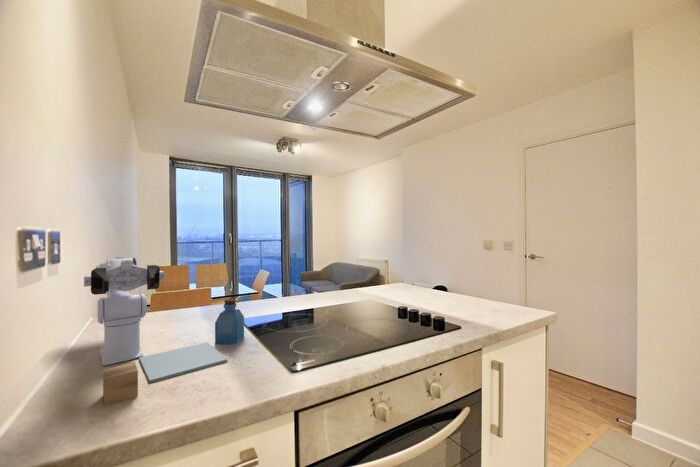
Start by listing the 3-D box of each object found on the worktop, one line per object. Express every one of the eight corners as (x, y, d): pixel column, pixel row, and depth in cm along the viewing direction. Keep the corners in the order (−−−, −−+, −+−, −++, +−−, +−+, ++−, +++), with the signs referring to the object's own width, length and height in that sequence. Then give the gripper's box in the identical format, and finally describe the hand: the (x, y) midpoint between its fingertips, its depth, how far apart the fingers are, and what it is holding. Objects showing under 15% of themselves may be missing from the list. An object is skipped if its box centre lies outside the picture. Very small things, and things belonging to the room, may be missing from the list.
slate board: (139, 359, 75) (139, 357, 75) (207, 344, 85) (207, 342, 85) (149, 383, 63) (149, 380, 63) (227, 361, 73) (227, 359, 73)
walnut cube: (103, 395, 58) (103, 369, 58) (134, 386, 62) (134, 362, 62) (104, 406, 55) (104, 378, 55) (137, 396, 58) (137, 370, 58)
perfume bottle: (244, 336, 92) (243, 297, 92) (237, 344, 86) (236, 301, 86) (223, 337, 92) (223, 297, 92) (215, 344, 85) (215, 302, 86)
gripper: (84, 259, 67) (83, 267, 57) (160, 256, 77) (171, 263, 67) (84, 290, 67) (83, 304, 57) (159, 284, 77) (170, 294, 67)
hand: (130, 284), depth 62 cm, fingers open, 7 cm apart
